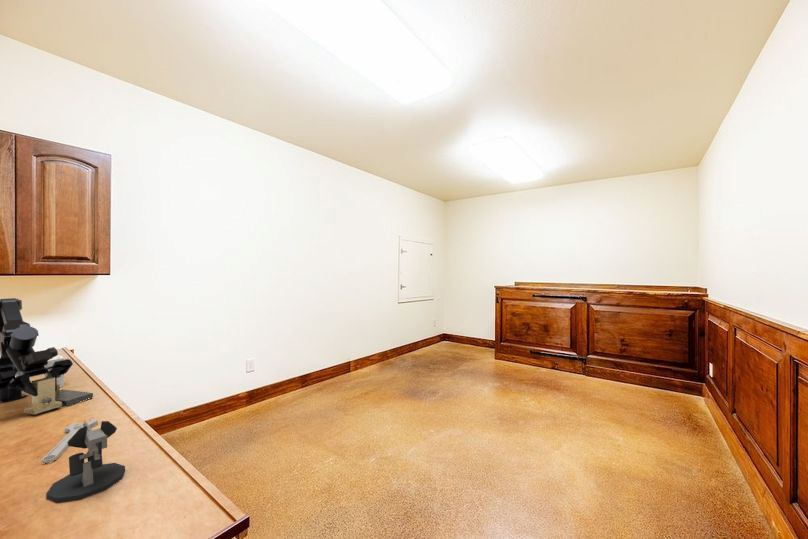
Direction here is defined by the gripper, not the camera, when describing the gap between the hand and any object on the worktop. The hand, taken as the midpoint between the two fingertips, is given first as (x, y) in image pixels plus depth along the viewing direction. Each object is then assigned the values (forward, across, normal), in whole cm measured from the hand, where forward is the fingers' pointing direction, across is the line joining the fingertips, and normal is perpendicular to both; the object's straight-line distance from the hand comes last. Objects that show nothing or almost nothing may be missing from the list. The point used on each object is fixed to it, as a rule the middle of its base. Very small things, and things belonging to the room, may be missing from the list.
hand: (46, 392), depth 112 cm
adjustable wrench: (+27, -12, -17) cm, 34 cm away
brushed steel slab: (-1, +9, +10) cm, 13 cm away
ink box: (-17, +19, +27) cm, 37 cm away
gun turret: (+44, -22, -35) cm, 60 cm away
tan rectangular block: (+3, 0, +5) cm, 6 cm away
